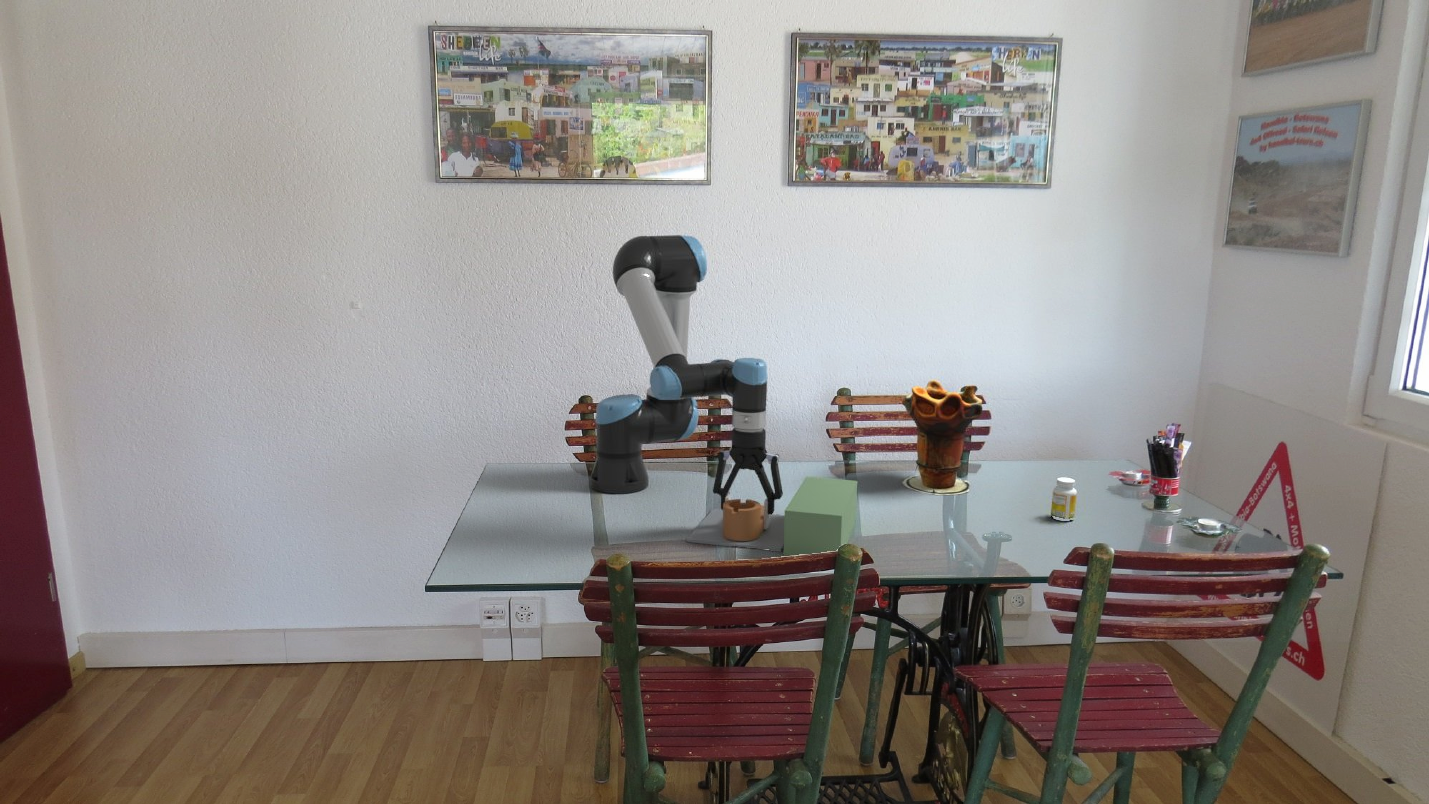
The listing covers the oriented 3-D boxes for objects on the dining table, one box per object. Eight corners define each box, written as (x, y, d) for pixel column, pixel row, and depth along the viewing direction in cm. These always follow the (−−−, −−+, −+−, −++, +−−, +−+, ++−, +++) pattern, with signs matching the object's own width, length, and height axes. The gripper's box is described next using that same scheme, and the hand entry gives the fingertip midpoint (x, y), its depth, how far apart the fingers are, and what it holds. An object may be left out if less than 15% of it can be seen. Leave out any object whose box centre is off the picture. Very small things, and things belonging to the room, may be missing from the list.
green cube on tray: (684, 544, 209) (684, 500, 207) (715, 508, 233) (715, 468, 231) (840, 561, 200) (841, 515, 198) (855, 522, 225) (857, 480, 223)
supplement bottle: (1054, 522, 226) (1058, 482, 224) (1047, 514, 231) (1050, 476, 229) (1077, 522, 226) (1081, 483, 224) (1069, 514, 231) (1073, 476, 229)
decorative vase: (981, 474, 263) (987, 375, 255) (974, 503, 242) (981, 396, 234) (904, 467, 269) (908, 370, 262) (891, 495, 248) (895, 390, 241)
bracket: (755, 542, 208) (756, 512, 207) (718, 538, 210) (718, 508, 209) (772, 517, 225) (773, 488, 224) (738, 513, 227) (738, 485, 226)
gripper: (698, 428, 212) (697, 526, 217) (792, 435, 207) (789, 535, 212) (707, 421, 219) (706, 515, 224) (798, 427, 214) (796, 524, 219)
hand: (747, 525), depth 218 cm, fingers closed on bracket, 8 cm apart
